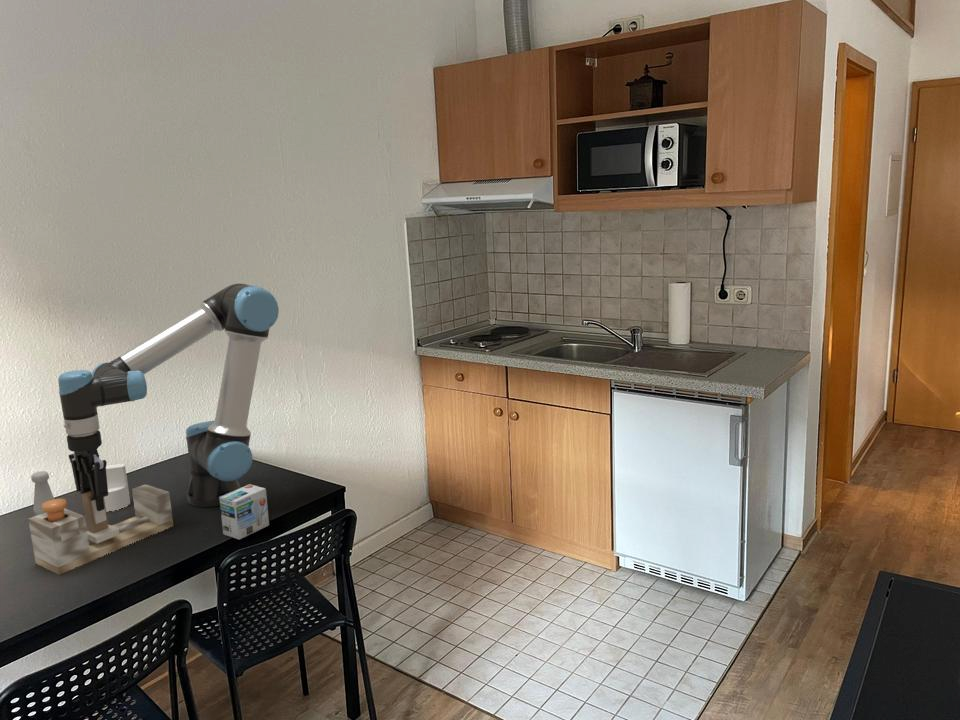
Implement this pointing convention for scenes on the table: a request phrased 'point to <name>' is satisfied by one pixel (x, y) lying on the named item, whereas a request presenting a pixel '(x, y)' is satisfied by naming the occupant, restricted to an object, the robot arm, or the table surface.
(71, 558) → the rail base
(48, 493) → the salt shaker
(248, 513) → the light bulb box
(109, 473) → the cylinder with rectangular tab
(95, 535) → the carriage
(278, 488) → the table surface
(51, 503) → the button
